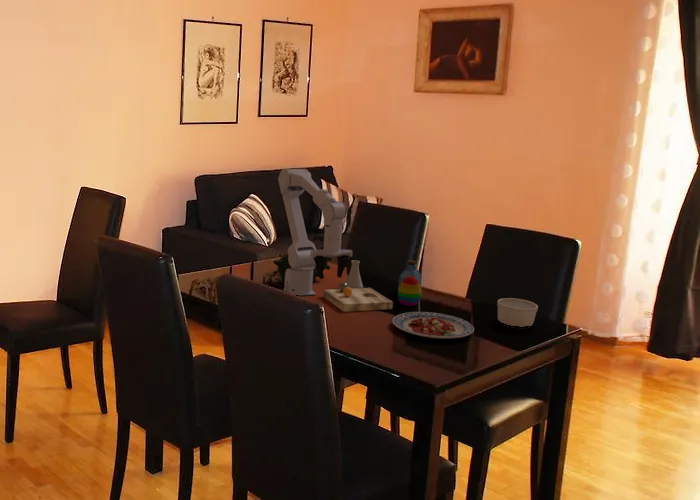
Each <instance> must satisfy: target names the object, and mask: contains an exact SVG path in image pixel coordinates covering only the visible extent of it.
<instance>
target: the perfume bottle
mask: <svg viewBox="0 0 700 500" xmlns="http://www.w3.org/2000/svg"><path fill="white" fill-rule="evenodd" d="M406 267H407V268H405V269H404V270H403V271H402V272H401V274H400V275H399V277H398V287H397V290H398V289H399V286H400V284H401V282H402V281H403V280H404V279H405V278H406V277H408V276H413V277H415V278H416V279H417V280H418V282H419V283H420V286H422V285H421V284H422V275H421V273H420V271H419V269H416V268H417V261H416V260H413V259H412V260H411V259H409V260H407V263H406Z"/></svg>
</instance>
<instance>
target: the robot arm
mask: <svg viewBox="0 0 700 500" xmlns="http://www.w3.org/2000/svg"><path fill="white" fill-rule="evenodd" d="M277 180H278V185H279V189H280V194H281V195H282V200H283V203H284V207H285V212H286V217H287V221H288V226H289V230H290V235H291V239H292V243H291V245H289V246H288V248H287V252H288V253H287V254H288V261H289V264H290V266H291V269H287V270H286V272H285V283H284V284H283V285H284V287H283V291H284V292H286V291H287V292H289V293H292V294H295V295H298V296H315V295H317V293H316V292H315V291H314V290H313V283H312V281H313V269H315V266H317V270H318V277H317V278H319V279H320V278H323V274H324V270H323V268H324V263H325V260H324V259H323V257H331V258H332V257H336V258H337V260H336V261H337V270H336V271H337V272H336V277H338V278H340V279H342V277H343V273H344V270H345V268H346V266H347V265H348V263H349V262H350V257H353V250H352V249H341V246H342V236H343V235H342V233H343V221H344V220H345V218H346V217H347V214H348V209H347V205H346V204H345V202H344V201H339V200H337V199H335V197H334V196H333V195H331V194H330V193H329V191H328V189H324V188H322V189H321V188H320V187H319V186H318V185H317V183H316V182H315V181H314V180H313V179H312V174H311V172H309V170H308V169H307V168H294V169H290V168H289V169H288V168H284V169H282V170H281V171H280V172H279V175H278V178H277ZM305 191H306V192H307V193H308V194H309V195H311V196H312V200H313V203H314V204H315V205H316V206H317V207H318V208H319V209H320V210H321V213H322V217H323V224H324V234H323V235H324V248H323V249H322V250H320V249H316V246H315V245H316V244H315V243H314V242H312V241H310V240H309V239H308V234H307V231H306V226H305V222H304V217H303V211H302V209H301V208H302V207H301V203H300V199H299V197H300V195H302V194H303V193H304V192H305ZM323 279H324V278H323ZM287 292H286V293H287Z"/></svg>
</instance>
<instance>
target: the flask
mask: <svg viewBox="0 0 700 500" xmlns="http://www.w3.org/2000/svg"><path fill="white" fill-rule="evenodd" d="M350 262H351V266H350V270H349V273H348V275H347V278H346V280H345V282H344V283H346V284H347V285H348V287H350V288H351V289H354V288H364V285H363V282H362V281H363V280H362V278H361V274H360V269H359V267H360V263H361V262H360V260H355V259H354V260H351V261H350Z"/></svg>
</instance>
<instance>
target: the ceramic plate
mask: <svg viewBox="0 0 700 500" xmlns="http://www.w3.org/2000/svg"><path fill="white" fill-rule="evenodd" d="M391 322H392V324H393V325H394V326H395V327H396V328H397V329H399V330H401V331H403V332H406V333H408V334H412V335H415V336H419V337H422V338H426V337H427V338H426V339H435V340H436V339H437V340H445V339H459V338H464V337H467V336H470V335H472V334H473V333H474V331H475V328H474V326H473V325H472V324H471V323H470V322H469V321H467V320H464V319H462V318H460V317H457V316H454V315H449V314H444V313H437V312H430V311H429V312H428V311H410V312H409V311H408V312H404V313H400V314H397V315H396V316H394V317H393V318H392V321H391Z"/></svg>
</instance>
